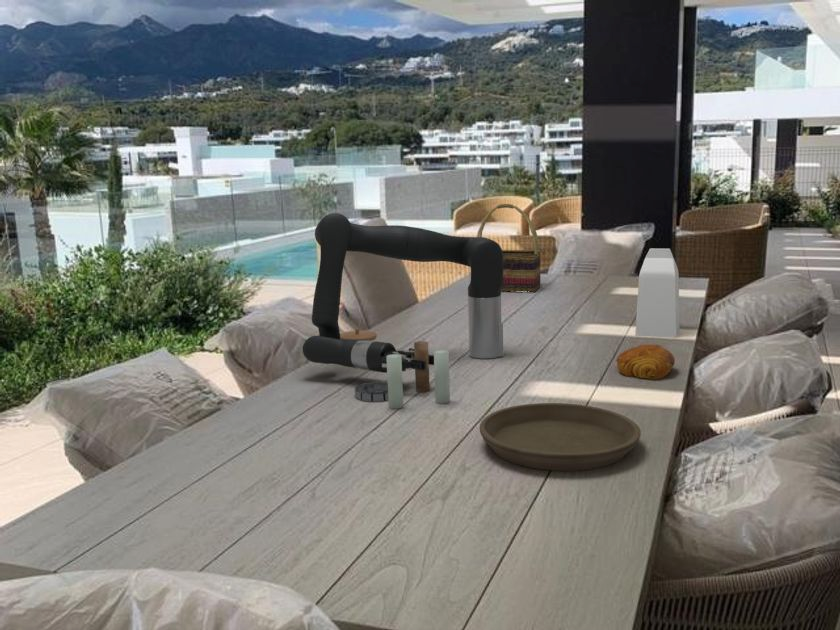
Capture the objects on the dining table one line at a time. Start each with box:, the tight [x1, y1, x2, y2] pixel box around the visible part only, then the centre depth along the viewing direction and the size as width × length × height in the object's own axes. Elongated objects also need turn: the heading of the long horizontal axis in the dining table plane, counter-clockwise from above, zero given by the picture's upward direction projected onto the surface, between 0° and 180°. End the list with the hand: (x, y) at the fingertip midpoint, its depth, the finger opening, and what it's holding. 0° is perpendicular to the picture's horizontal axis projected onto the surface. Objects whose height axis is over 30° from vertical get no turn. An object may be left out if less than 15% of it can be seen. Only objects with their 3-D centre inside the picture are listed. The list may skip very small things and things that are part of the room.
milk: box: [634, 248, 681, 339], centre depth 257 cm, size 12×12×26 cm
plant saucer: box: [478, 402, 642, 472], centre depth 165 cm, size 31×31×5 cm
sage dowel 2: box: [433, 349, 451, 405], centre depth 195 cm, size 3×3×12 cm
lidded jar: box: [340, 328, 377, 341], centre depth 236 cm, size 11×11×9 cm
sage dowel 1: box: [386, 354, 404, 410], centre depth 193 cm, size 3×3×12 cm
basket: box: [476, 203, 542, 293], centre depth 342 cm, size 26×15×35 cm, turn 72°
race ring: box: [354, 380, 388, 403], centre depth 204 cm, size 11×11×2 cm
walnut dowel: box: [413, 340, 431, 393], centre depth 205 cm, size 3×3×12 cm
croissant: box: [615, 344, 676, 380], centre depth 216 cm, size 14×16×8 cm
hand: (431, 363), depth 203 cm, fingers open, 4 cm apart
